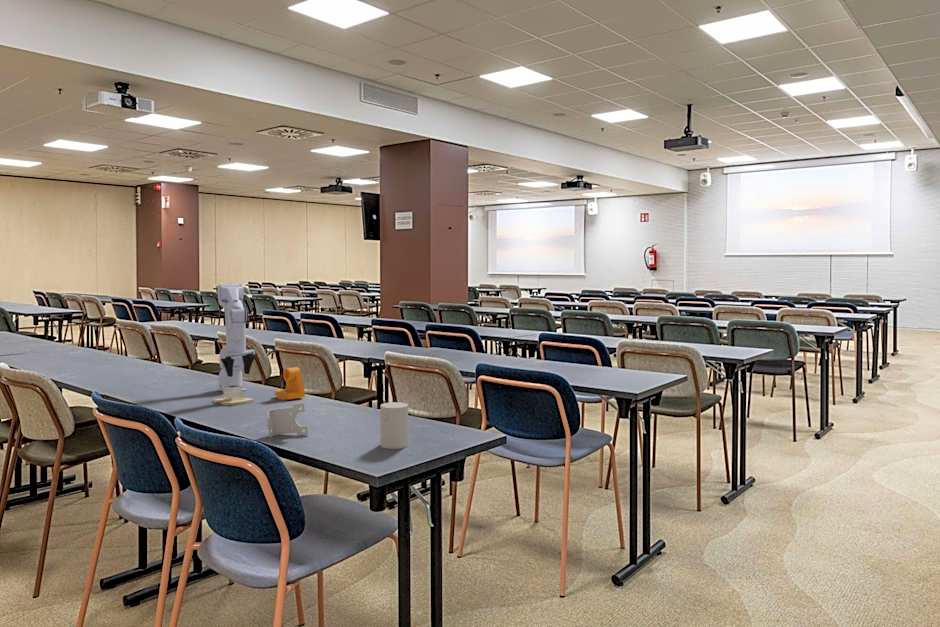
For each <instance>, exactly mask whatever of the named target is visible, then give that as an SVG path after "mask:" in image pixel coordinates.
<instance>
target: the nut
mask: <svg viewBox="0 0 940 627" xmlns="http://www.w3.org/2000/svg"><path fill="white" fill-rule="evenodd" d="M230 386H235V387H230ZM230 386H224V387H223V391H222V392H223V394H222V395H223V397H224V400H228V401H236V400H241V399H243V397H244V391H243V388H244V386H243V385H242V386H238V385H230Z"/></svg>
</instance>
